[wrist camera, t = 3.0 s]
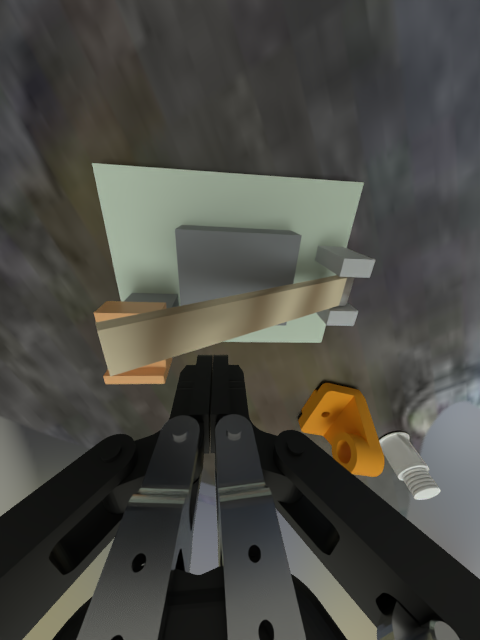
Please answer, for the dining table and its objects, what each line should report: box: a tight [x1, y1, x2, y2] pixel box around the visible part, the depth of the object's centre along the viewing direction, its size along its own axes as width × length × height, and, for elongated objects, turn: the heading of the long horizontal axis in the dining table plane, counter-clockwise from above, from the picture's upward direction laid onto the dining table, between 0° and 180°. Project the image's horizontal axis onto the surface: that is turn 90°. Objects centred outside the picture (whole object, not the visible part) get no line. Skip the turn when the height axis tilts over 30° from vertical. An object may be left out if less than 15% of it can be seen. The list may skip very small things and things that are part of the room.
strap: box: [95, 275, 355, 377], centre depth 18 cm, size 23×3×2 cm, turn 86°
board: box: [92, 163, 375, 358], centre depth 25 cm, size 27×20×8 cm
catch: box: [94, 301, 172, 384], centre depth 22 cm, size 6×7×4 cm
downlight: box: [379, 432, 440, 500], centre depth 45 cm, size 8×7×10 cm
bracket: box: [298, 383, 384, 477], centre depth 37 cm, size 11×7×12 cm, turn 161°
